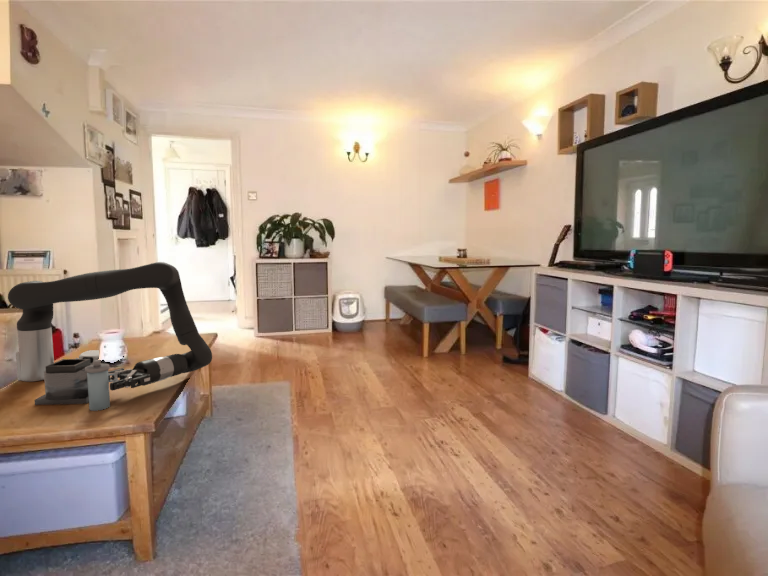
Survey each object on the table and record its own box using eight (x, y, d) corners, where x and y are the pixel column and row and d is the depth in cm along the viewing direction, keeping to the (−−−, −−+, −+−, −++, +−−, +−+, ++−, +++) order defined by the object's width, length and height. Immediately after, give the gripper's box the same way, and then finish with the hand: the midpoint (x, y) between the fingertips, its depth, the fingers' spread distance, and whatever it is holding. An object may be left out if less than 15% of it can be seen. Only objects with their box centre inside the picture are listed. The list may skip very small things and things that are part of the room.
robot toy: (128, 360, 180) (86, 359, 176) (128, 349, 180) (86, 348, 176) (118, 368, 168) (73, 368, 164) (119, 357, 168) (73, 356, 164)
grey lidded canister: (83, 411, 124) (80, 364, 122) (94, 404, 129) (91, 358, 128) (105, 411, 124) (102, 363, 123) (115, 403, 130) (112, 358, 129)
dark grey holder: (32, 406, 127) (29, 368, 126) (62, 389, 141) (60, 356, 140) (84, 404, 129) (82, 367, 128) (109, 388, 143) (107, 355, 141)
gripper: (139, 355, 144) (86, 368, 130) (168, 361, 138) (116, 375, 123) (140, 378, 145) (88, 393, 131) (169, 385, 138) (117, 401, 124)
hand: (101, 384), depth 127 cm, fingers open, 8 cm apart
